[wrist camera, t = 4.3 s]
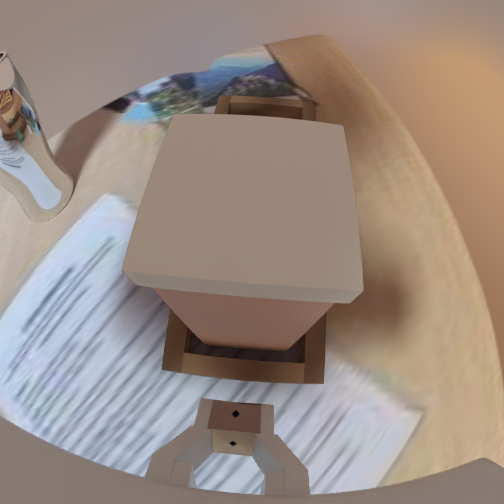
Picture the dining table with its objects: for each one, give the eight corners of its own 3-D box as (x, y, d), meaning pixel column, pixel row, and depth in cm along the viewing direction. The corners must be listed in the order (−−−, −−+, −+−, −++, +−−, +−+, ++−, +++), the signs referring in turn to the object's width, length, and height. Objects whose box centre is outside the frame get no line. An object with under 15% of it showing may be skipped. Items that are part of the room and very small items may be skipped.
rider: (201, 347, 18) (121, 270, 6) (212, 268, 20) (174, 114, 9) (288, 354, 18) (363, 290, 6) (292, 275, 20) (343, 125, 9)
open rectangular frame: (139, 365, 17) (130, 363, 16) (201, 107, 28) (200, 95, 27) (347, 383, 17) (355, 383, 16) (330, 116, 28) (333, 104, 26)
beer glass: (68, 157, 25) (9, 42, 12) (87, 195, 23) (9, 57, 10) (18, 197, 23) (-56, 96, 10) (30, 241, 21) (-71, 129, 8)
